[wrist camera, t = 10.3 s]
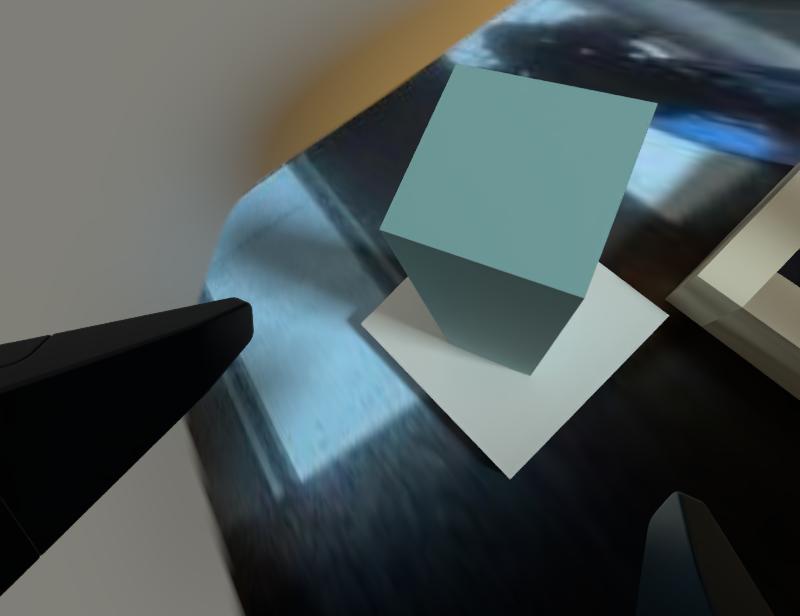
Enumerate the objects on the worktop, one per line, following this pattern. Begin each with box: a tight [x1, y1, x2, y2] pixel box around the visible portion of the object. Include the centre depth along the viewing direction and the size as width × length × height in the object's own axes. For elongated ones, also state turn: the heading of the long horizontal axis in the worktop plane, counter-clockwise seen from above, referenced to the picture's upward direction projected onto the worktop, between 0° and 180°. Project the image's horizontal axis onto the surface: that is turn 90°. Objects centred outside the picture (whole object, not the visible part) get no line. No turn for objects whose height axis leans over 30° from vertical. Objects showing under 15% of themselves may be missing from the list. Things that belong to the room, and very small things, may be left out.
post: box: [379, 64, 658, 376], centre depth 14 cm, size 4×4×13 cm
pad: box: [361, 262, 669, 479], centre depth 21 cm, size 10×10×1 cm
